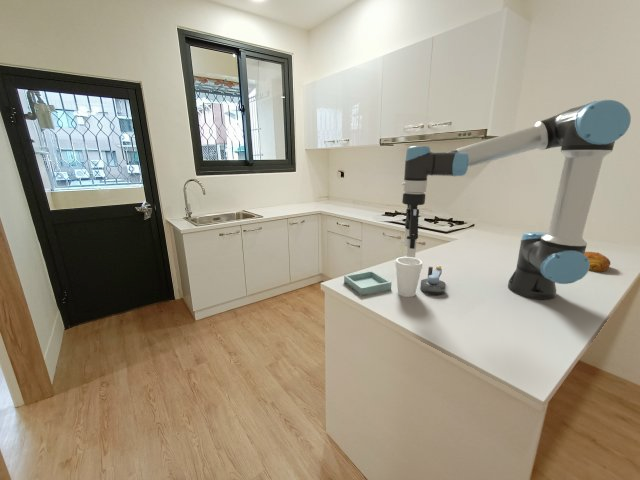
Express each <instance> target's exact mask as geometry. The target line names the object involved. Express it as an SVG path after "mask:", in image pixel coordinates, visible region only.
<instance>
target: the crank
mask: <svg viewBox="0 0 640 480" xmlns="http://www.w3.org/2000/svg"><path fill="white" fill-rule="evenodd" d="M433 270H434V271H432V275H429V276H428V275H427V279H428V283H430V284H439V280H440V278H441V275H442V273H443V268H442V266H441V265H436V266H435V268H434V269H433Z"/></svg>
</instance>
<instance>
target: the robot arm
mask: <svg viewBox="0 0 640 480" xmlns="http://www.w3.org/2000/svg"><path fill="white" fill-rule="evenodd" d="M631 116H632V115H631V113H630V111H629V108H627V107H626V106H625V105H624V104H623V103H622V102H620V101H617V100H613V99H604V100H595V101H591V102H588V103H586V104H583V105H579V106H576V107H573V108H569V109H568V110H565V111H562V112H561V113H558V114H556V115H553V116H550V117H548V118H545V119H543V120H542V119H541V120H540V121H537V122H535V124H534V125H533V126H530V127H526V128H524V129H519V130H517V131H516V130H515V131H513V132H512V131H511V132H510V133H505V134H503V135H500V136H496V137H492V138H489V139H486V140H483V141H479V142H476V143H472V144H469V145H465V146H462V147H459V148H456V149H452V150H448V151H446V152H434V151H433V152H432V151H431V147H430V146H429V145H428V146H426V145H424V146H423V145H413V146H408V148H407V149H406V155H405V160H404V161H405V164H404V177H403V178H404V180H403V181H404V182H402V183H401V186H403V192H404V193H402V199H401V200H402V204H404V205H406V206H407V207H406V209H405V210H406V211H405V213H406V214H405V216H406V218H405V222H404V228H405V229H404V238H403V239H404V242H403V246H404V247H407V248H406V249H407V250H406V257H412V258H416V251H417V242H418V241H417V240H418V238H419V217H420V215H419V214H420V209H418V206H423V205H425V204H426V203H425V202H426V194H425V193H426V192H427V187H428V176H442V177H462V176H465V175H466V174H467V172H468V168H471V167H474V166H477V165H481V164H485V163H488V162H492V161H496V160H499V159H503V158H507V157H511V156H515V155H518V154H522V153H526V152H530V151H532V150H533V151H534V150H536V149H538V150H540V151H544V150H547V149H554V148H560V152H561V154H562V155H563V156H564V161H563V162H564V163H563V167H562V170H561V175H560V180H559V182H558V183H559V184H558V189H557V192H556V196H555V201H554V205H553V209H552V213H551V219H550V222H549V227H548V231H547V232H537V231H528V232H527V231H526V232H524V233H523V234H522V237H521V239H520V245H519V251H518V256H517V262H516V269H515V271H514V272H513V273H512V274H511V276H510V278H509V280H508V284H507V288H508V290H510V291H511V292H513V293H514V294H517V295H520V296H522V297H525V298H531V299H535V300H536V299H537V300H552V299H555V297H556V295H557V286H556V284H559V285H560V284H561V285H568V284H573V283H576V282H577V281H580V280H582V279H583V278H584V277H586V275H588V272H589V271H590V270H589V268H590V263H589V260H588V259H587V257H586V256H585V255H584V253H585V252H586V249H587V246H588V243H587V242H586V241H585V239H584V238H583V235H584V231H585V227H586V224H587V220H588V217H589V212H590V210H591V209H590V208H591V206H592V201H593V197H594V194H595V190H596V187H597V182H598V179H599V175H600V171H601V168H602V163H603V159H604V158H605V157H606V156H608V155H609V154H611V153H612V152H613V150H614V146H615V143H616V141H617V140H619V139H620V138H621V137H623V136H624V135H625V134H626V133H627V132H628V130H629V128H630V125H631V118H632V117H631Z"/></svg>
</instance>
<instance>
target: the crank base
mask: <svg viewBox="0 0 640 480" xmlns="http://www.w3.org/2000/svg"><path fill="white" fill-rule="evenodd" d="M433 270H434V269H433V266H428V269H427V271H428V272H427V277H428V276H429V275H432V273H433V272H434V271H433ZM420 291H421V292H423V294H427V295H430V296H442V295H445V293H446V283H445V282H444V281H443V280H440V279H439V284H430V283H428V278H423V279H421V281H420Z"/></svg>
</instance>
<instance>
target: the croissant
mask: <svg viewBox="0 0 640 480" xmlns="http://www.w3.org/2000/svg"><path fill="white" fill-rule="evenodd" d="M584 255H585V256H586V257H587V259H588V260H589V263H590V268H589V271H590V272H591V271H593V272H597V273H601V272H605V271H606V270H608V269H609V268H610V266H611V265H612V264H611V260H610V259H609V258H608V257H606V256H605V255H604V254H602V253H601V252H593V251H585V253H584Z"/></svg>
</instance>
